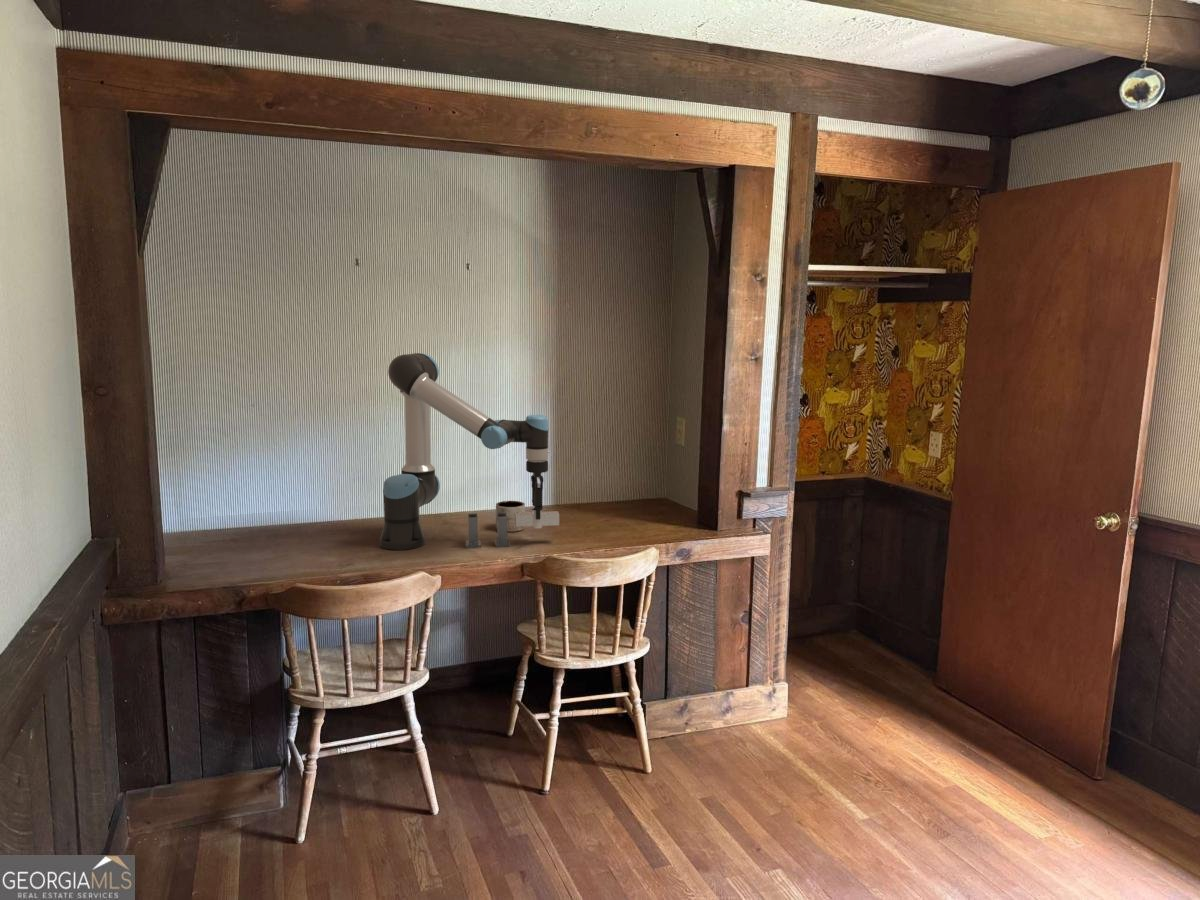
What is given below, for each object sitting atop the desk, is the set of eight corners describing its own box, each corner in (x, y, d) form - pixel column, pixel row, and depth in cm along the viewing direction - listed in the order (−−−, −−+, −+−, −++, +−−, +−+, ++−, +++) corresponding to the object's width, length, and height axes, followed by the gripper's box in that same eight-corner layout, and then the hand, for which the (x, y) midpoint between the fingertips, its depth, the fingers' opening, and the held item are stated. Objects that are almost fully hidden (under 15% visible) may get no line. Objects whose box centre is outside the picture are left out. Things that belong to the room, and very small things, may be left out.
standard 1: (465, 548, 270) (465, 518, 268) (465, 542, 276) (465, 513, 275) (480, 547, 271) (480, 518, 269) (480, 542, 277) (480, 513, 275)
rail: (515, 526, 273) (515, 515, 272) (515, 523, 277) (515, 512, 276) (559, 525, 275) (559, 514, 275) (557, 522, 279) (557, 511, 279)
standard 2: (495, 547, 271) (495, 517, 270) (494, 541, 278) (494, 512, 276) (510, 546, 272) (510, 517, 271) (509, 541, 279) (508, 512, 277)
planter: (527, 525, 300) (527, 501, 299) (521, 533, 289) (521, 507, 288) (499, 524, 301) (499, 500, 300) (492, 532, 290) (492, 506, 289)
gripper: (550, 464, 265) (550, 532, 269) (545, 455, 281) (545, 519, 285) (528, 464, 263) (528, 533, 267) (524, 456, 280) (524, 520, 284)
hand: (537, 526), depth 276 cm, fingers closed on rail, 4 cm apart
